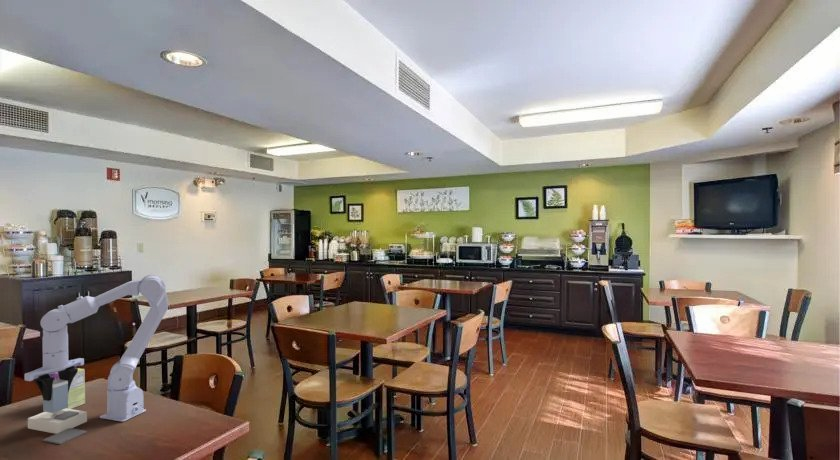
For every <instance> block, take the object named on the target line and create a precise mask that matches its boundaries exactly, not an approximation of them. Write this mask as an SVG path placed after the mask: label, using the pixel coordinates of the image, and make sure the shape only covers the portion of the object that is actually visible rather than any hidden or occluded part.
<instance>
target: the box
mask: <svg viewBox="0 0 840 460" xmlns="http://www.w3.org/2000/svg"><path fill="white" fill-rule="evenodd" d="M76 368H77V369H78V372H77V373H76V375H75V377H74V378H73V380H72V383H71V386H70V389H69V392H68V409H75V408H78V407H80V406H82V405H85V404H86V382H85V380H86V378H85V368H80V367H79V368H78V367H76ZM49 376H50V377H53V378H54V380H57V379H59V375H58V372H56V373H53V374H49ZM54 380H53V381H54Z"/></svg>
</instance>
